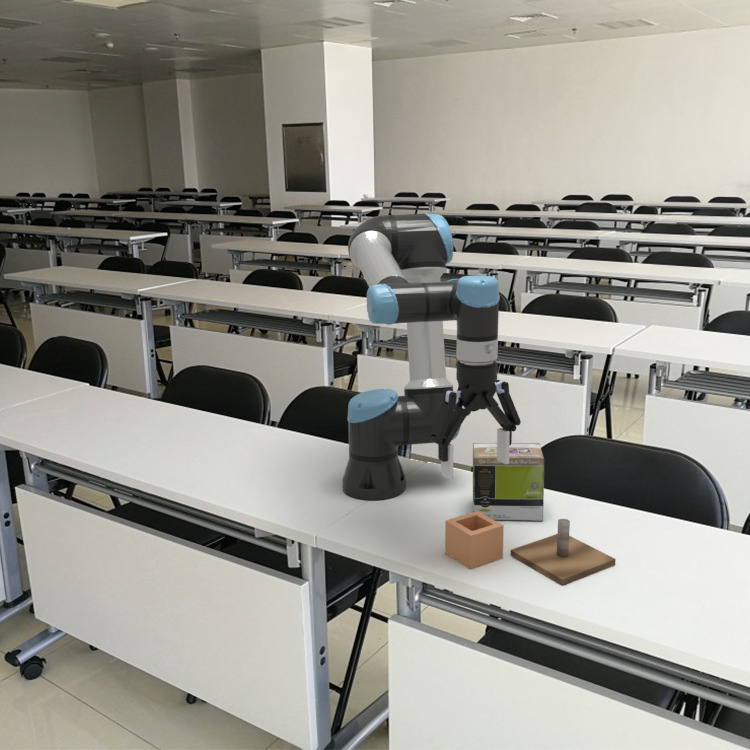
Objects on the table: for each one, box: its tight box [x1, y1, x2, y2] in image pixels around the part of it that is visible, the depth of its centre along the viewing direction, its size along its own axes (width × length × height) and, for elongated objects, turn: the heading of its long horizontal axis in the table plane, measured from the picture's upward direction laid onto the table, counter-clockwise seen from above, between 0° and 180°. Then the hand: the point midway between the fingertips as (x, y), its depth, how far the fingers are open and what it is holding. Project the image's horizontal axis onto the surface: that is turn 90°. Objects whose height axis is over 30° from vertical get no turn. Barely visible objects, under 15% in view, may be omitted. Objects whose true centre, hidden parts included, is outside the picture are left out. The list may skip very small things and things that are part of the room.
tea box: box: [472, 442, 545, 522], centre depth 175 cm, size 15×10×15 cm
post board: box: [510, 518, 616, 586], centre depth 154 cm, size 14×14×8 cm
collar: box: [444, 511, 504, 570], centre depth 156 cm, size 8×8×7 cm
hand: (475, 469), depth 152 cm, fingers open, 13 cm apart
